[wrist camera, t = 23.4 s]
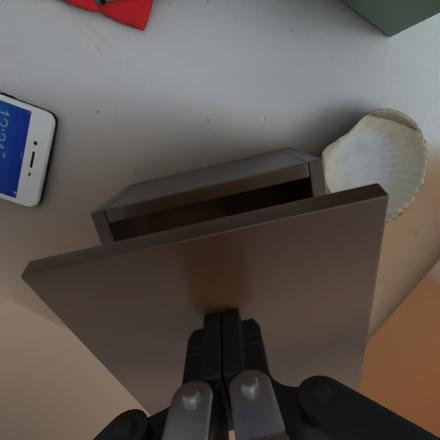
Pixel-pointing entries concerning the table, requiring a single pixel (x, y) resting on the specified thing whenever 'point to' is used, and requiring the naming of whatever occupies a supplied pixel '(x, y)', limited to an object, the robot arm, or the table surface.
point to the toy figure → (120, 10)
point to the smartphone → (24, 150)
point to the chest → (210, 194)
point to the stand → (394, 12)
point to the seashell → (379, 158)
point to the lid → (227, 291)
